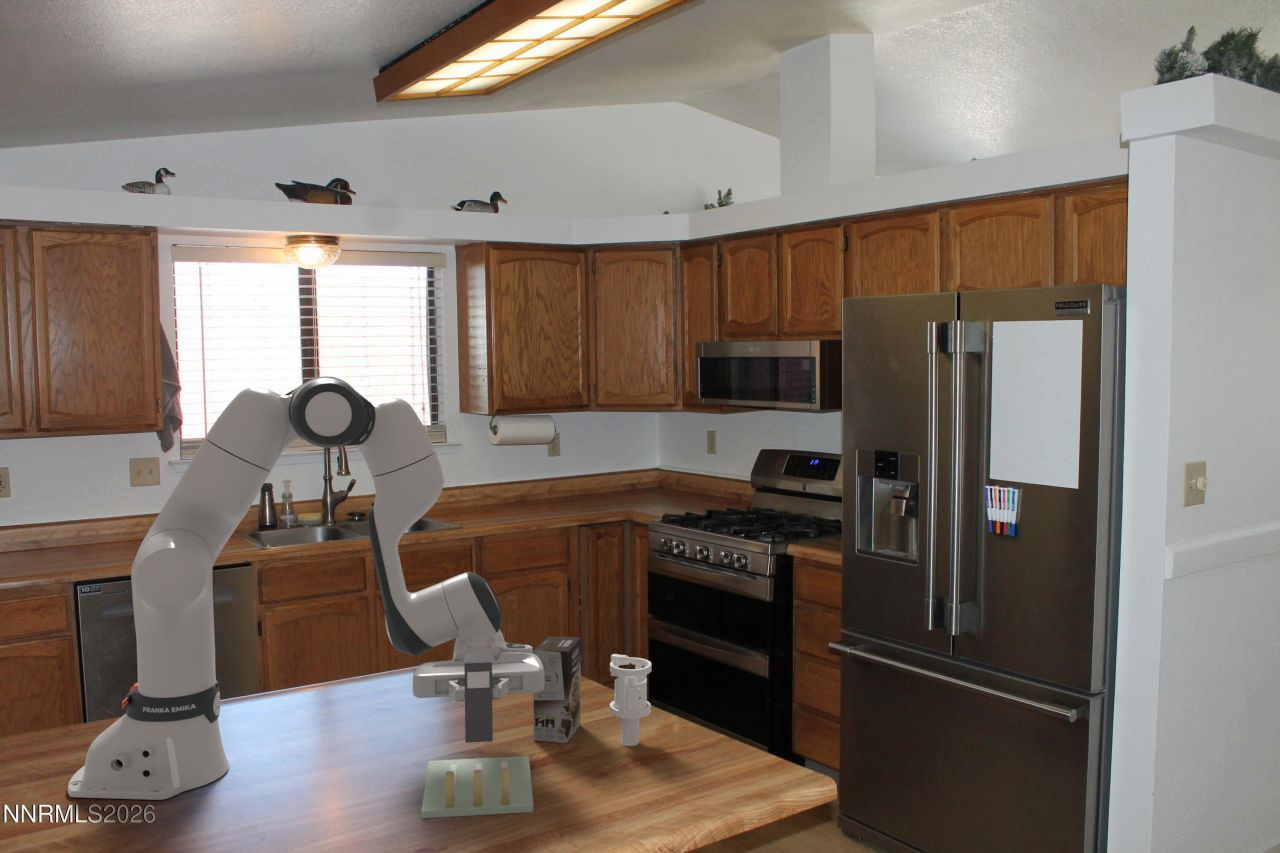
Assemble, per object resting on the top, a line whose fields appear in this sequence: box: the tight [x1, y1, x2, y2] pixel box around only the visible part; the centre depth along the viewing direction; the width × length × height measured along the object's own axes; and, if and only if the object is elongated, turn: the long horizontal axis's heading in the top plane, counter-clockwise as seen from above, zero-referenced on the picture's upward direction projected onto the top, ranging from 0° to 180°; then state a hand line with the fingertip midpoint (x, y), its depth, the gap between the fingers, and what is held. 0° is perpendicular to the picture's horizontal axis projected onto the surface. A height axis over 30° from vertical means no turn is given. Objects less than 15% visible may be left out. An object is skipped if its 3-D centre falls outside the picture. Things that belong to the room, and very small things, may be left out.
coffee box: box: [532, 635, 582, 744], centre depth 178 cm, size 9×6×16 cm
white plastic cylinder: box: [609, 653, 652, 747], centre depth 174 cm, size 7×7×15 cm
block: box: [464, 652, 494, 744], centre depth 153 cm, size 4×5×12 cm
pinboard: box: [420, 755, 534, 819], centre depth 156 cm, size 16×18×6 cm
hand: (478, 695), depth 152 cm, fingers closed on block, 4 cm apart
